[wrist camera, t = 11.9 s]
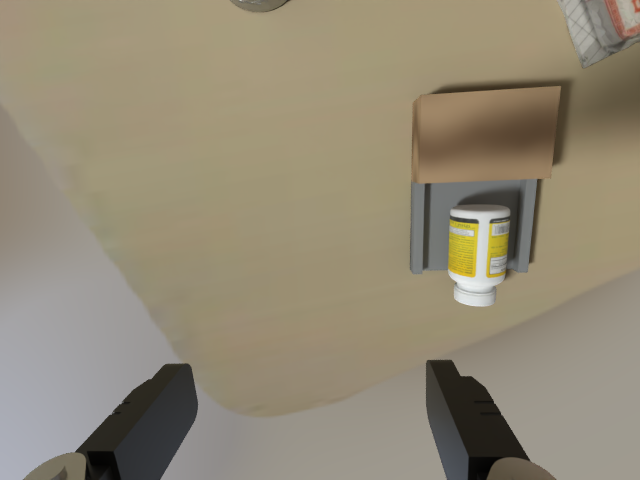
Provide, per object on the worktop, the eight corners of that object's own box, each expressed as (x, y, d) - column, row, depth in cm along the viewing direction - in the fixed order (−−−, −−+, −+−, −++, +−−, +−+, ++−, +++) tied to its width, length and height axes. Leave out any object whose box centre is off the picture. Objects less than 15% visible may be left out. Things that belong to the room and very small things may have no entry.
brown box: (412, 102, 34) (421, 94, 30) (535, 95, 32) (560, 85, 29) (411, 181, 35) (419, 183, 31) (527, 176, 34) (550, 178, 30)
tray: (411, 181, 35) (414, 182, 34) (527, 176, 34) (537, 177, 32) (410, 269, 38) (413, 274, 36) (519, 267, 36) (527, 272, 35)
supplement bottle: (446, 204, 35) (443, 288, 38) (455, 210, 30) (450, 308, 32) (501, 203, 34) (494, 290, 36) (519, 210, 29) (510, 311, 31)
